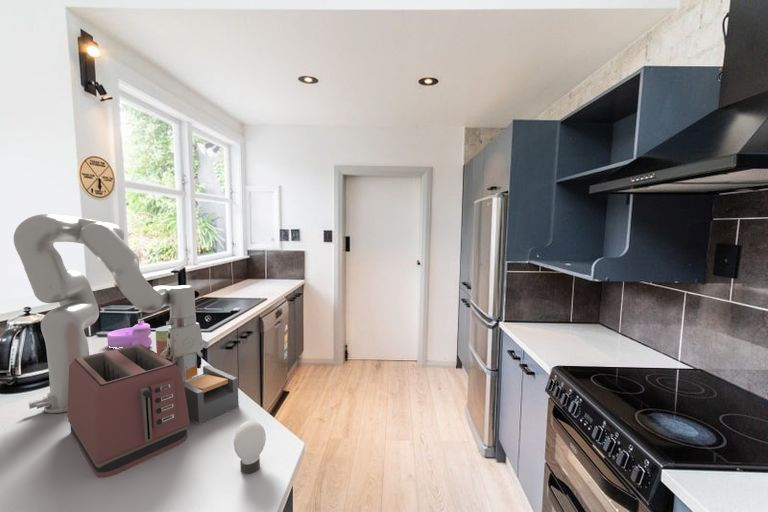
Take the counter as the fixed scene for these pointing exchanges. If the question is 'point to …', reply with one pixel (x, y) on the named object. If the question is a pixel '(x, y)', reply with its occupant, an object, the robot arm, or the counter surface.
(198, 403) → the grey open box
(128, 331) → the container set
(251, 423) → the light bulb
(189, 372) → the skincare box
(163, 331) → the canned food
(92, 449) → the toaster
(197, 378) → the rocker switch
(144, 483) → the counter surface
